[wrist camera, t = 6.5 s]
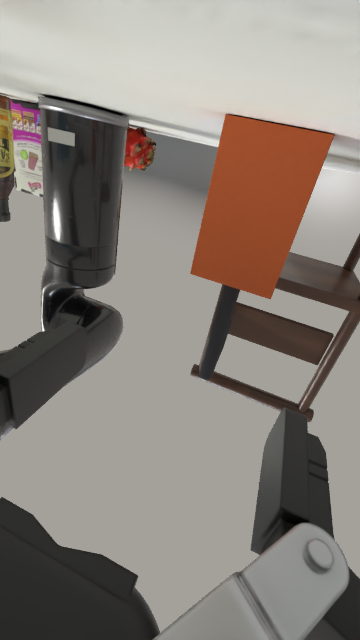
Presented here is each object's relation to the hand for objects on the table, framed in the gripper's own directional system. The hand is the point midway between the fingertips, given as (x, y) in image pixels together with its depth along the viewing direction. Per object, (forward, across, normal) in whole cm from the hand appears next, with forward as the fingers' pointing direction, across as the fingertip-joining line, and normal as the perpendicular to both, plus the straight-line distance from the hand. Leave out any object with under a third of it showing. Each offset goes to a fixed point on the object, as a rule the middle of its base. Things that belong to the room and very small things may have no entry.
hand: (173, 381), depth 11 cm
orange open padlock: (+14, 0, -9) cm, 17 cm away
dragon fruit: (+53, +32, -9) cm, 63 cm away
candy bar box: (+47, +49, -10) cm, 68 cm away
